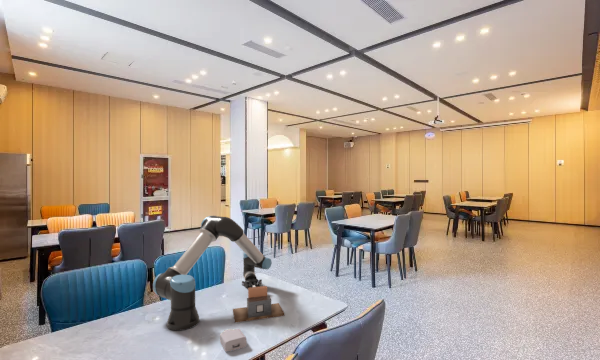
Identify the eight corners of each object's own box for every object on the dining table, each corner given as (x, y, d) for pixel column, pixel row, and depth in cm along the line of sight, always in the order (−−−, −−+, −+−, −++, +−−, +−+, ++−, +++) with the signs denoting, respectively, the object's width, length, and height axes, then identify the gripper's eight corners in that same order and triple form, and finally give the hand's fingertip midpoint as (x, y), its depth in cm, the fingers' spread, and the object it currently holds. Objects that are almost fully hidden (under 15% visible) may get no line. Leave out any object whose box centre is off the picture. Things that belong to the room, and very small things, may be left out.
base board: (234, 322, 156) (234, 319, 156) (232, 311, 169) (232, 308, 169) (284, 315, 163) (284, 313, 163) (278, 305, 177) (278, 303, 177)
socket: (248, 317, 158) (248, 302, 158) (247, 313, 164) (246, 298, 164) (271, 314, 161) (271, 299, 161) (269, 310, 167) (269, 295, 167)
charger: (236, 332, 146) (246, 347, 133) (216, 337, 142) (225, 353, 129) (236, 322, 146) (246, 336, 133) (216, 327, 142) (225, 342, 129)
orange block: (250, 316, 158) (250, 293, 158) (248, 309, 167) (248, 287, 167) (269, 314, 161) (269, 291, 161) (266, 307, 170) (266, 285, 170)
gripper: (260, 283, 204) (266, 296, 182) (240, 285, 201) (243, 298, 178) (260, 272, 204) (266, 283, 182) (240, 274, 201) (243, 286, 178)
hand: (255, 291), depth 180 cm, fingers closed
